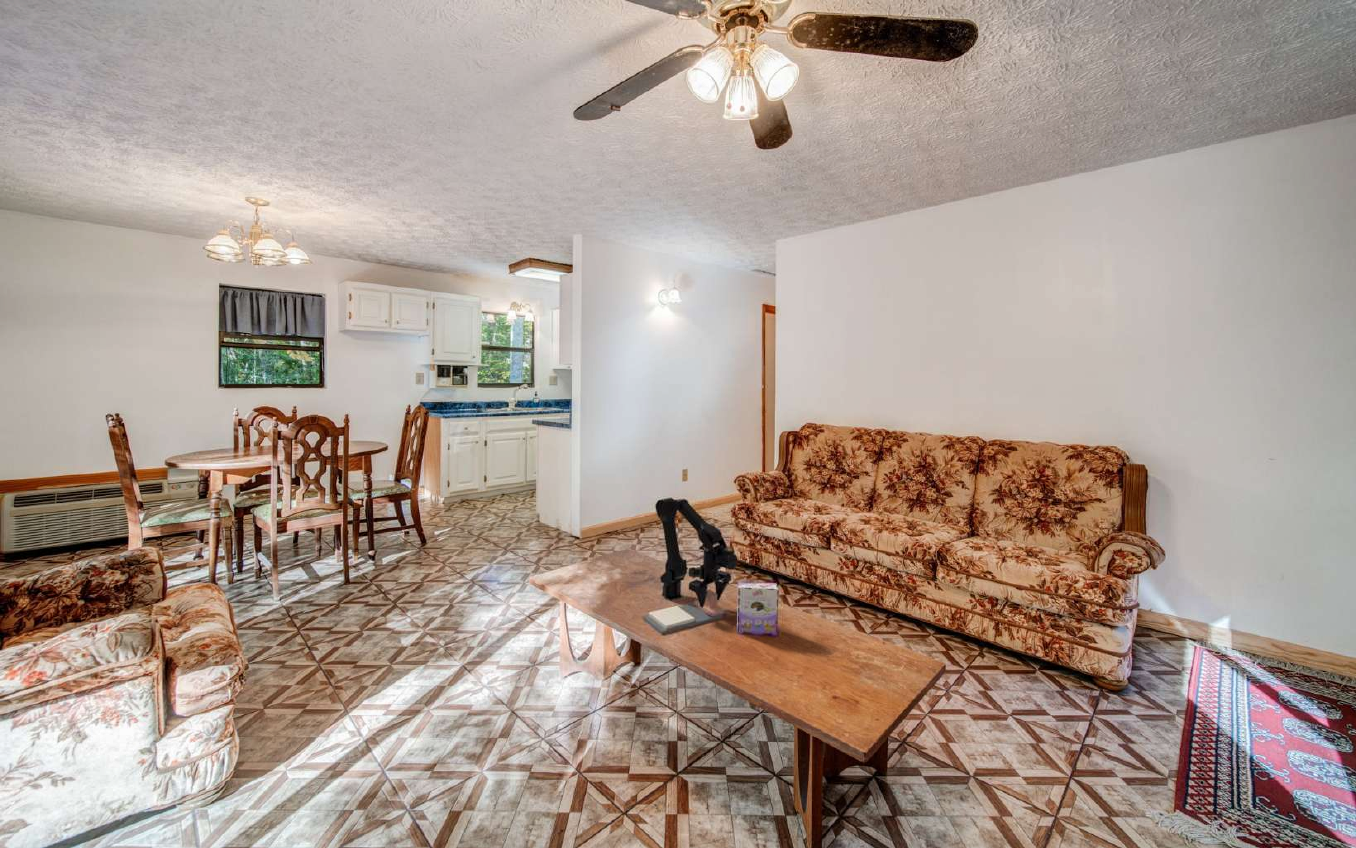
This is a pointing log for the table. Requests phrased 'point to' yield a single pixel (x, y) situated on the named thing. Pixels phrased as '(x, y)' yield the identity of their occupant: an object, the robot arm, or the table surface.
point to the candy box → (757, 608)
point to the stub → (710, 604)
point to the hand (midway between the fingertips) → (709, 603)
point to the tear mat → (699, 619)
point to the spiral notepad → (671, 617)
